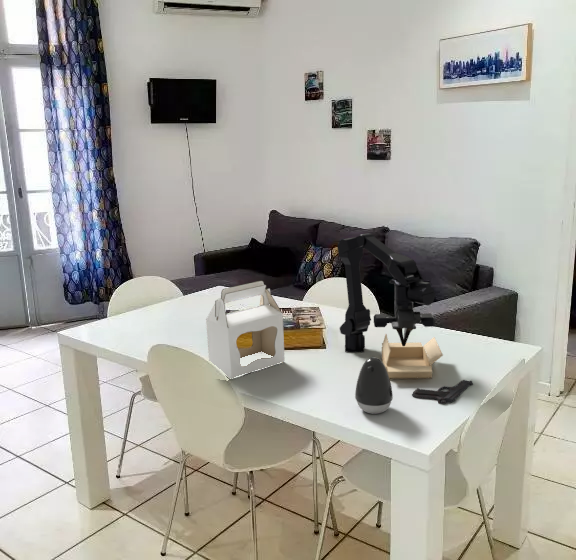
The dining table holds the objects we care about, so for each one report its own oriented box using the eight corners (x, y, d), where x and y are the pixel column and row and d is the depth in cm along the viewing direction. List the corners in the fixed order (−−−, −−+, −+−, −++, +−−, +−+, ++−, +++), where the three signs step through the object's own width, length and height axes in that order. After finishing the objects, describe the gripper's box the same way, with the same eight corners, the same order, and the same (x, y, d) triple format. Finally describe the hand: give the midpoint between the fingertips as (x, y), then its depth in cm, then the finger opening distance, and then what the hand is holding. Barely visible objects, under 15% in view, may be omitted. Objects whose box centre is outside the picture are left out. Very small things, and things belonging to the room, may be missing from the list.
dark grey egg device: (350, 415, 167) (350, 363, 164) (360, 400, 176) (359, 350, 173) (388, 420, 163) (388, 366, 160) (395, 404, 173) (396, 353, 169)
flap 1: (386, 364, 190) (389, 350, 189) (382, 346, 207) (385, 333, 205) (386, 364, 190) (390, 351, 189) (382, 346, 207) (386, 333, 205)
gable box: (230, 380, 194) (225, 294, 188) (208, 369, 205) (202, 287, 198) (285, 362, 208) (282, 282, 201) (262, 352, 218) (258, 275, 211)
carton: (386, 383, 187) (386, 371, 186) (380, 353, 212) (380, 342, 211) (433, 383, 186) (433, 371, 185) (422, 353, 211) (422, 342, 210)
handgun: (436, 372, 191) (474, 379, 184) (436, 378, 192) (474, 385, 185) (410, 392, 177) (450, 401, 170) (410, 398, 177) (450, 408, 170)
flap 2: (431, 363, 189) (442, 354, 188) (423, 345, 205) (434, 337, 204) (431, 364, 189) (443, 355, 188) (424, 346, 205) (434, 337, 204)
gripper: (375, 306, 187) (375, 355, 190) (438, 305, 185) (437, 354, 189) (373, 296, 197) (373, 342, 201) (432, 295, 196) (431, 342, 200)
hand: (403, 345), depth 197 cm, fingers closed
